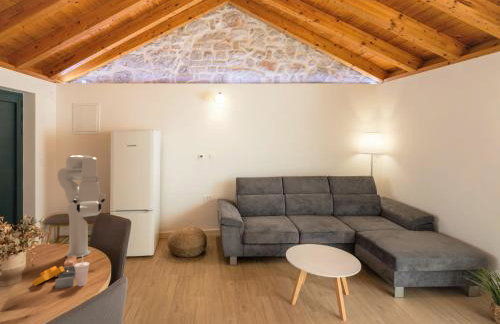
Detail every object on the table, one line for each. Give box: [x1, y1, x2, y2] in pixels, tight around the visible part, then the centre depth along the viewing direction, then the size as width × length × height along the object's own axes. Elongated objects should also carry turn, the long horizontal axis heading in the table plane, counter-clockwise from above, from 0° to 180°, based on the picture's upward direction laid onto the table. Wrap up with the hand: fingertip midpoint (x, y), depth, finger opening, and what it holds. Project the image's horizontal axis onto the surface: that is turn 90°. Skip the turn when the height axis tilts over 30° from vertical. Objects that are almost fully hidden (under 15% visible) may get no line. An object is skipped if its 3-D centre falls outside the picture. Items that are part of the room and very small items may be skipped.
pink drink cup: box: [74, 255, 90, 287], centre depth 143 cm, size 6×6×14 cm
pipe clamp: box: [31, 265, 65, 287], centre depth 146 cm, size 12×4×6 cm
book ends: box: [54, 266, 76, 289], centre depth 147 cm, size 17×7×4 cm, turn 26°
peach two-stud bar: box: [63, 256, 77, 267], centre depth 163 cm, size 12×4×5 cm, turn 22°
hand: (89, 211), depth 165 cm, fingers open, 9 cm apart
